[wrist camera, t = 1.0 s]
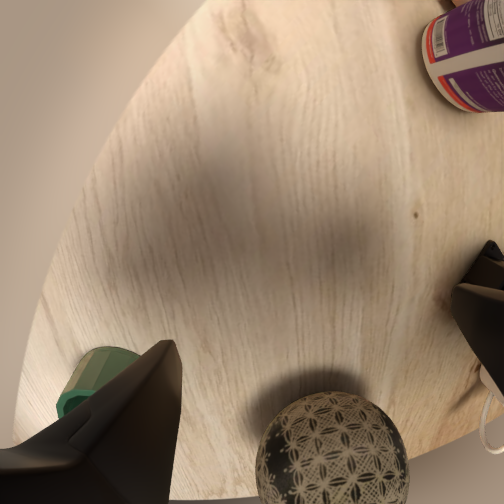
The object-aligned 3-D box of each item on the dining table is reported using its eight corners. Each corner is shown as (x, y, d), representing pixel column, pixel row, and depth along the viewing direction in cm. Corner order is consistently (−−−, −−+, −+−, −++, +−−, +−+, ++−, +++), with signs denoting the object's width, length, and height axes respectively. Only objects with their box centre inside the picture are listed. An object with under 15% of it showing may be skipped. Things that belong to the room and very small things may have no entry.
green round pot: (184, 381, 24) (177, 430, 19) (143, 427, 26) (132, 470, 21) (98, 328, 23) (72, 370, 17) (69, 384, 24) (47, 423, 19)
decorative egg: (395, 392, 27) (462, 511, 12) (310, 457, 29) (339, 573, 15) (316, 338, 24) (385, 507, 10) (223, 420, 26) (225, 570, 12)
